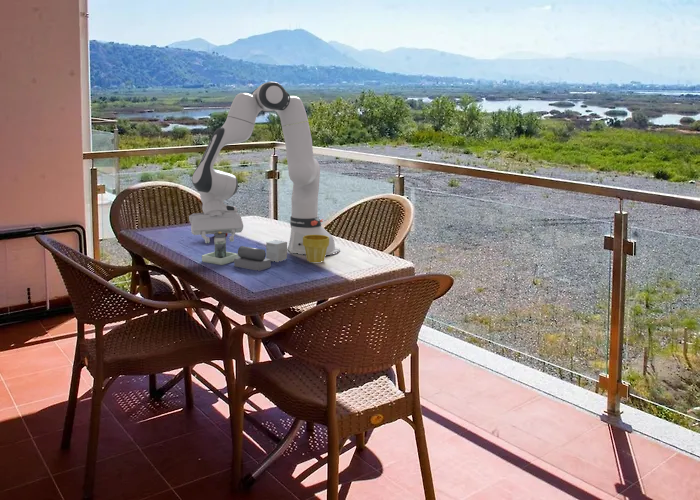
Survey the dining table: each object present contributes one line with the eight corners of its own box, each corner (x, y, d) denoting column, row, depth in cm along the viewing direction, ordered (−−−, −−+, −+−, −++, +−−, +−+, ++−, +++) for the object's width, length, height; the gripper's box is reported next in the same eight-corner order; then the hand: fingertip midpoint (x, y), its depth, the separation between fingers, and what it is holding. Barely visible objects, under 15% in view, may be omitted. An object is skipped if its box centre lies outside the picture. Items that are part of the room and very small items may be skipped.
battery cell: (228, 258, 265) (228, 231, 262) (221, 260, 261) (220, 233, 259) (220, 256, 267) (219, 230, 265) (212, 259, 263) (211, 232, 261)
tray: (238, 259, 266) (238, 253, 265) (221, 265, 258) (221, 258, 257) (219, 256, 271) (219, 250, 270) (201, 261, 262) (201, 255, 262)
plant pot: (328, 258, 272) (329, 234, 270) (328, 264, 262) (329, 239, 260) (303, 257, 272) (303, 234, 269) (302, 264, 261) (302, 239, 259)
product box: (265, 260, 267) (265, 242, 265) (275, 257, 272) (275, 239, 270) (277, 262, 264) (277, 244, 262) (287, 259, 268) (287, 241, 267)
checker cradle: (270, 266, 256) (270, 248, 255) (259, 270, 250) (259, 251, 249) (246, 262, 262) (245, 244, 261) (234, 266, 256) (233, 247, 255)
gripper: (188, 209, 263) (193, 238, 256) (240, 206, 270) (246, 235, 264) (187, 218, 268) (192, 247, 261) (238, 215, 275) (244, 244, 269)
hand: (219, 241), depth 263 cm, fingers open, 8 cm apart
